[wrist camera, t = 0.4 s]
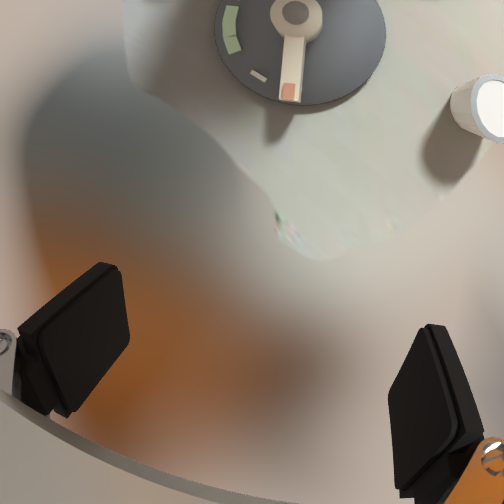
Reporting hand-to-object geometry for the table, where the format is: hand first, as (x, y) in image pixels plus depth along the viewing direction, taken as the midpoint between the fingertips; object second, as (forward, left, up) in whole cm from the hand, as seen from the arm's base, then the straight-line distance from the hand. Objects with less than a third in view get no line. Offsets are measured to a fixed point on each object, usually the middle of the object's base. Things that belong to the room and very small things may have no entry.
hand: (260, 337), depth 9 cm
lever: (-13, -2, -26) cm, 29 cm away
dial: (-16, -2, -28) cm, 32 cm away
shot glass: (-11, +18, -28) cm, 35 cm away
